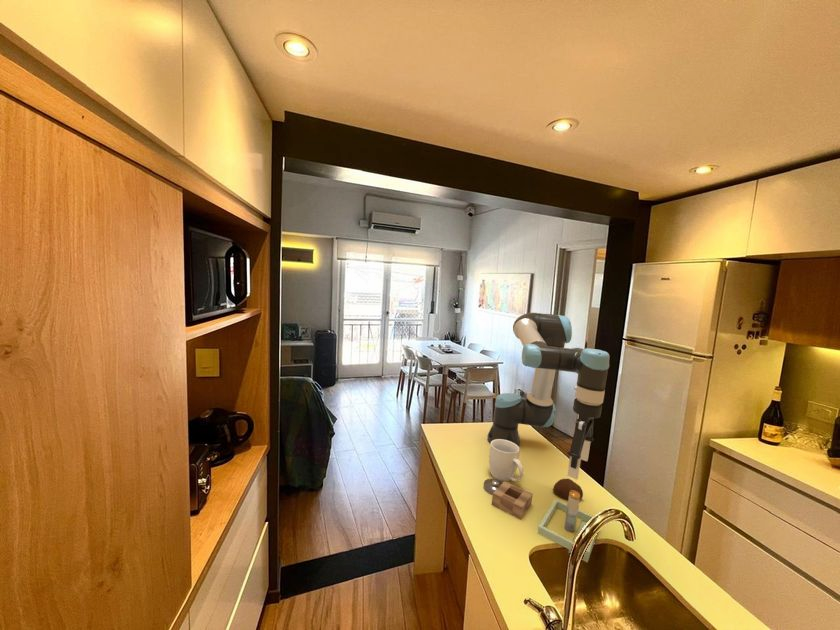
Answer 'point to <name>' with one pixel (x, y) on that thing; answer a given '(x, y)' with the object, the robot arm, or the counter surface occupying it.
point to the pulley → (491, 485)
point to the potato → (566, 488)
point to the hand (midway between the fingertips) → (577, 468)
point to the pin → (572, 511)
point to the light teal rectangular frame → (561, 539)
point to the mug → (504, 460)
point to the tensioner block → (512, 499)
